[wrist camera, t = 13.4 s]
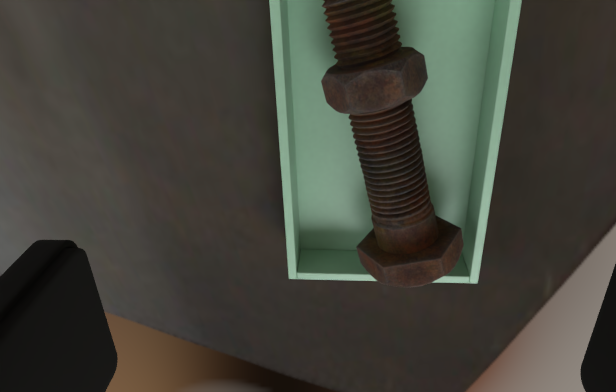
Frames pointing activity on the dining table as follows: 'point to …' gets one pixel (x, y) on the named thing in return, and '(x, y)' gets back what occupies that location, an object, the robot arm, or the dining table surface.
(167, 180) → the dining table surface
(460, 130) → the tray
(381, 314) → the dining table surface
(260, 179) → the dining table surface
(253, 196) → the dining table surface
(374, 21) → the bolt
